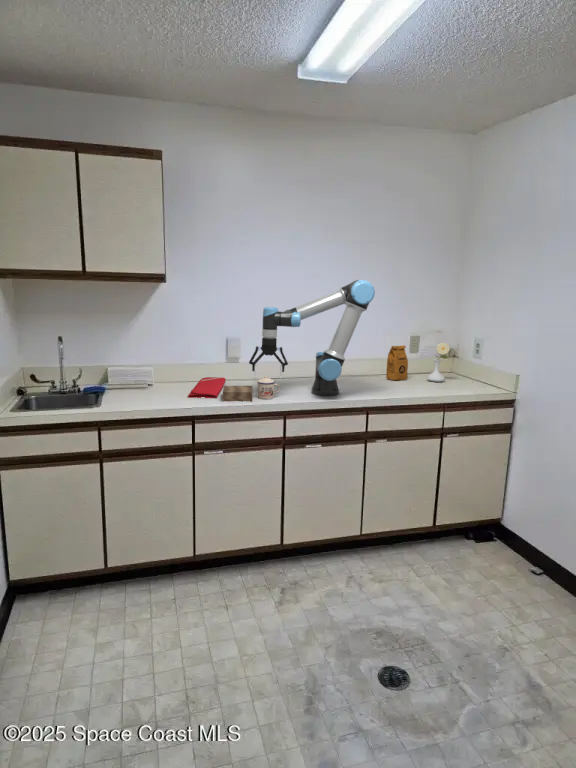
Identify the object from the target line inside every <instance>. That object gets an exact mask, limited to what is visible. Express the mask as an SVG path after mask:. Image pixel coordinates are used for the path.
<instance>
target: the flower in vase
mask: <svg viewBox="0 0 576 768" xmlns="http://www.w3.org/2000/svg"><path fill="white" fill-rule="evenodd" d="M450 349H451V347H450V346H449V344H448V343H446V342H441V343H439V344H438V345H437V346H436V348H435V350H436V352H437V353H438V354H440V356H438V355H436V354H434V356H435V357H436V358H437V359H436V358H433V360H432V361H434V370H433V372H431V373H430V374H428V375H427V376H426V380H428V381H431V382H436V383H440V382H444V381H445V380H446V378H445V376H444V375H442V373H441V372H440V370H439V367H440V363H441V361H442V359H443V360H445V359H449V357H448V356H447V354H448V353H449V351H450ZM441 357H442V359H441Z"/></svg>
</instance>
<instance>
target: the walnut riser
mask: <svg viewBox="0 0 576 768" xmlns="http://www.w3.org/2000/svg"><path fill="white" fill-rule="evenodd" d="M253 393H254V392H253V385H224V386H223V388H222V402H223V401H242V402H243V401H246V402H247V401H250V403H253ZM242 402H241V403H242ZM246 402H245V403H246ZM243 403H244V402H243ZM247 403H248V402H247Z"/></svg>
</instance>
